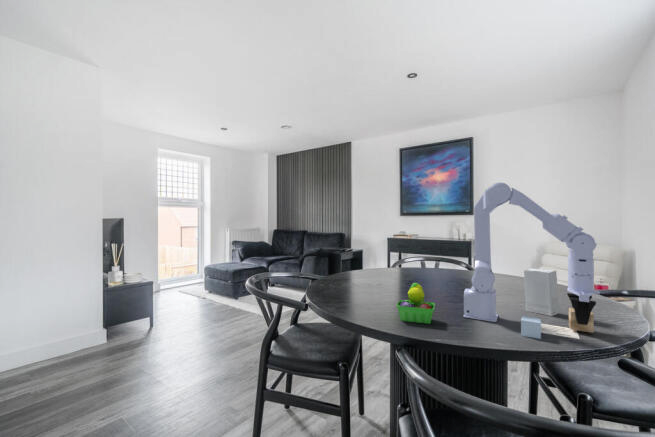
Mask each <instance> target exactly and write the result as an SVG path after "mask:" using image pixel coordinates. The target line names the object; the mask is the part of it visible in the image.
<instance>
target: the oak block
mask: <svg viewBox="0 0 655 437" xmlns="http://www.w3.org/2000/svg"><path fill="white" fill-rule="evenodd" d="M594 315H595V314H594V313H593V311H591V314H590V317H589V321H588V324H587V325H582V324H578V323H577V320H576V316H575V310H574V308H572V307H568V326H569V328H570V329H573V330H576V331H579V332H585V333H590V334H592V333H593V334H594V327H595V325H594V324H595V323H594V318H595V316H594Z"/></svg>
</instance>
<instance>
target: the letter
mask: <svg viewBox="0 0 655 437" xmlns="http://www.w3.org/2000/svg"><path fill="white" fill-rule="evenodd" d="M542 333H543V334H547V335H553V336H557V337H558V336H559V337H566V338H571V339H578V340H580V339H581V338H580V336H579V333H578V330H573V329H570V327H566V326H561V325H560V326H559V325H551V324H547V323H541V334H542Z"/></svg>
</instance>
